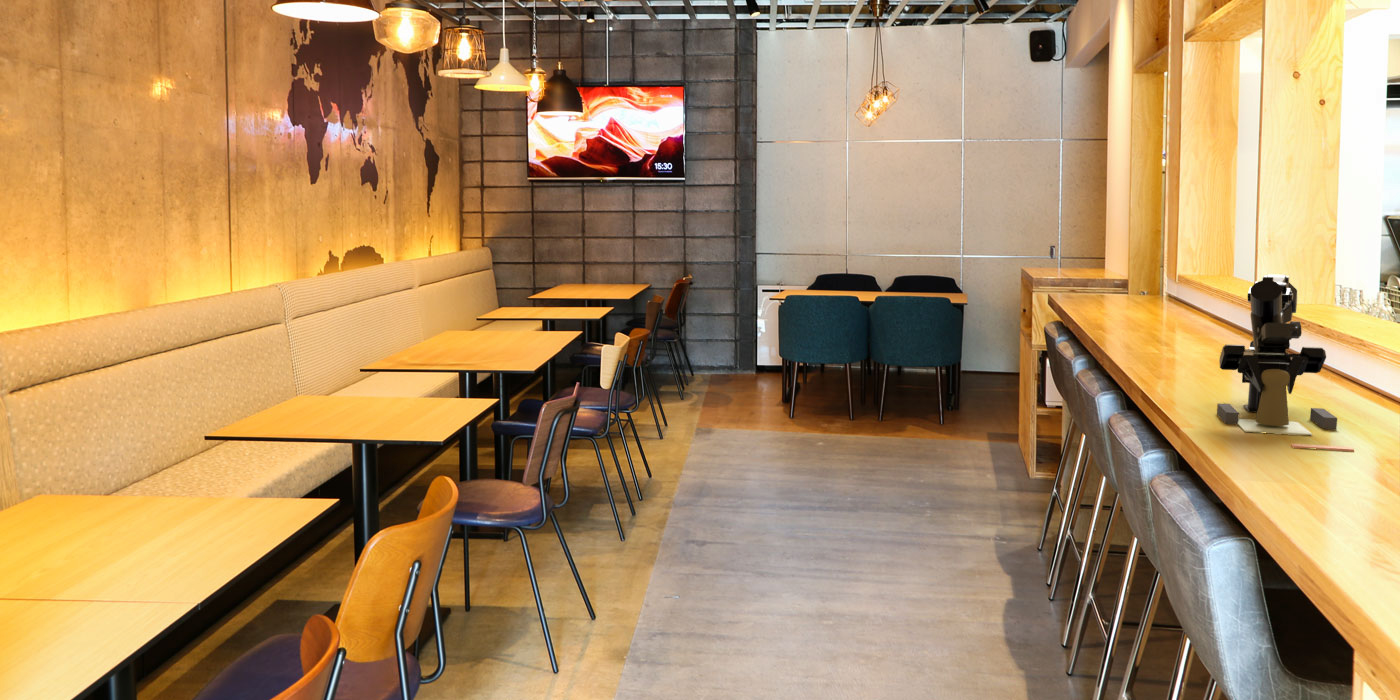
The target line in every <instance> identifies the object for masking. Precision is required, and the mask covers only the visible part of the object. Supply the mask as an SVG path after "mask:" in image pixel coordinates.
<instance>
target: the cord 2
mask: <svg viewBox="0 0 1400 700" xmlns="http://www.w3.org/2000/svg"><path fill="white" fill-rule="evenodd" d="M1309 419H1310V420H1311V421H1312V420H1313V421H1314V422H1313V421H1312V422H1313V423H1315V424H1316V423H1317V424H1318V425H1317V424H1316V425H1317V426H1319V427H1320V426H1321V427H1322V428H1325V429H1324V430H1334V429H1336V430H1337V426H1338V417H1337V416H1335V415H1334V414H1333V413H1331V412H1329V410H1326V409H1325V408H1322V407H1319V408H1317V407H1310V417H1309ZM1321 427H1320V428H1321ZM1322 428H1321V429H1322Z"/></svg>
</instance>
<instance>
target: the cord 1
mask: <svg viewBox="0 0 1400 700" xmlns="http://www.w3.org/2000/svg"><path fill="white" fill-rule="evenodd" d="M1216 415H1217V416H1218V417H1219V419H1221V421H1222V422H1223V423H1224V424H1226V425H1227V424H1228V425H1237V422H1238V419H1240V417H1239V416H1240V413H1239V412H1238V410H1236V408H1234V407H1233V405H1232V404H1230V403H1217V409H1216Z"/></svg>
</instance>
